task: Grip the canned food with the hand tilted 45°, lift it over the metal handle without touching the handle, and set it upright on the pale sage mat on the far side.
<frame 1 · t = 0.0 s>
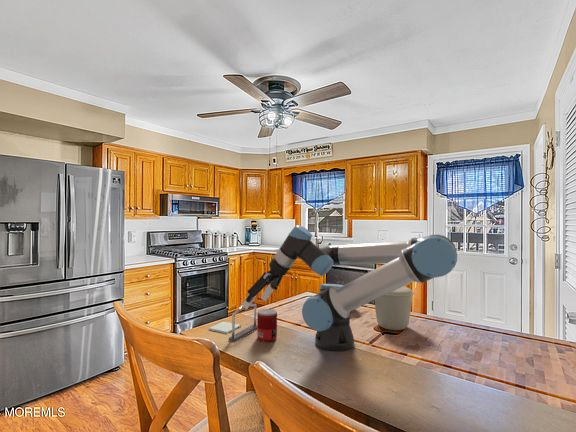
hand: (254, 303, 128), 15 cm above the table, tool tilted 35°, fingers open, 13 cm apart
sage mat: (225, 328, 143), on the table
planter bowl: (342, 309, 175), on the table
metal handle: (244, 334, 137), on the table
canned food: (267, 338, 132), on the table
canister: (392, 327, 147), on the table
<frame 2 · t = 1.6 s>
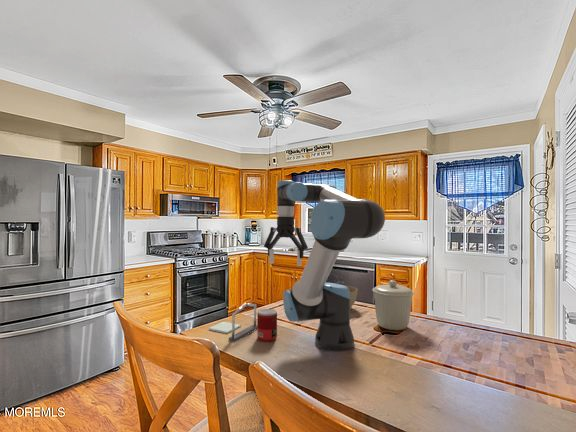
hand: (285, 264, 141), 29 cm above the table, tool pointing down, fingers open, 13 cm apart
nothing on the table moved.
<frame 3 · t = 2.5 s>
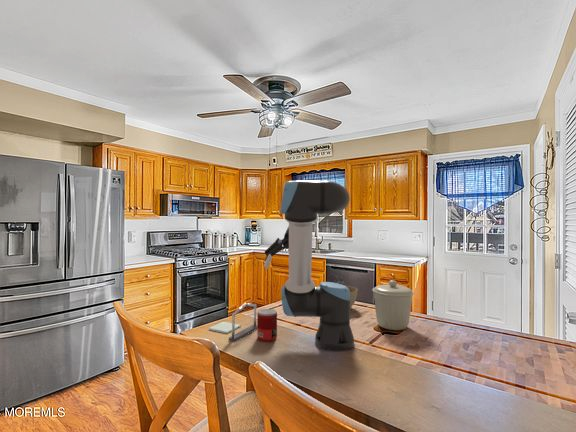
hand: (278, 268, 140), 27 cm above the table, tool tilted 45°, fingers open, 13 cm apart
nothing on the table moved.
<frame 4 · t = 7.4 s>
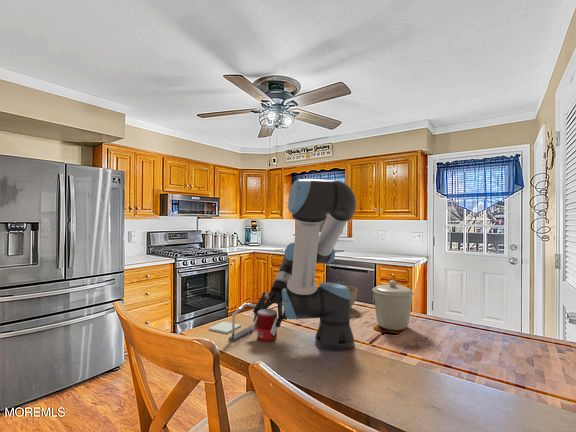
hand: (262, 332, 129), 4 cm above the table, tool tilted 45°, fingers closed on canned food, 8 cm apart
canned food: (267, 338, 132), on the table, touching gripper
everything else where it was.
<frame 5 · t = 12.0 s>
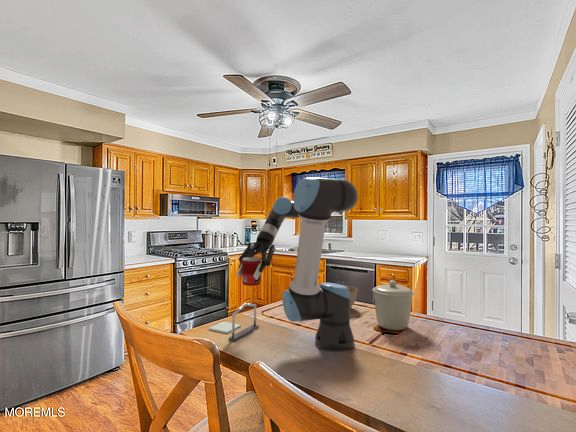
hand: (246, 276, 136), 24 cm above the table, tool tilted 45°, fingers closed on canned food, 8 cm apart
canned food: (251, 284, 139), point 20 cm above the table, touching gripper
everything else where it was.
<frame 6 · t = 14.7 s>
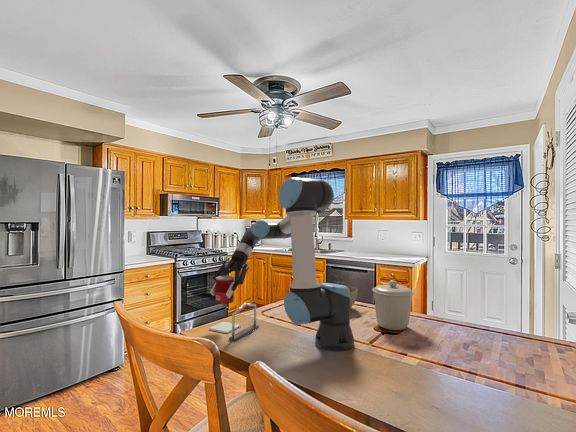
hand: (219, 295, 141), 15 cm above the table, tool tilted 45°, fingers closed on canned food, 8 cm apart
canned food: (224, 302, 144), point 11 cm above the table, touching gripper
everything else where it was.
when the fingers open (6 cm above the table, at t = 16.8 s): canned food drops 1 cm, resting on sage mat.
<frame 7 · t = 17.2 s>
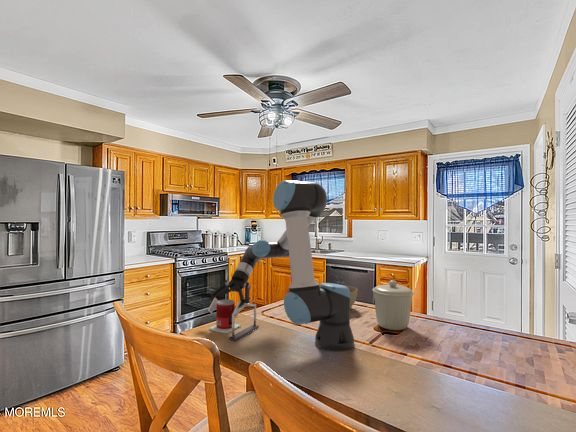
hand: (221, 314, 141), 7 cm above the table, tool tilted 45°, fingers open, 13 cm apart
canned food: (225, 326, 143), point 1 cm above the table, touching sage mat
everything else where it was.
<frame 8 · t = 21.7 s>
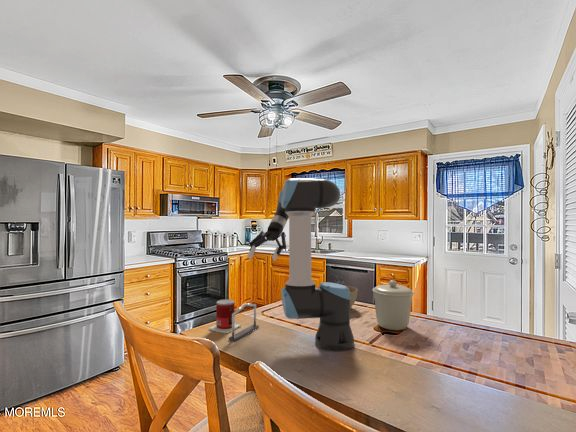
hand: (261, 258, 154), 30 cm above the table, tool tilted 45°, fingers open, 13 cm apart
nothing on the table moved.
at the end: canned food inside the target area on the sage mat (0.1 cm from its centre), point 0.6 cm above the sage mat's base; canned food tilted 0°; metal handle moved 0.2 cm from its start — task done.
